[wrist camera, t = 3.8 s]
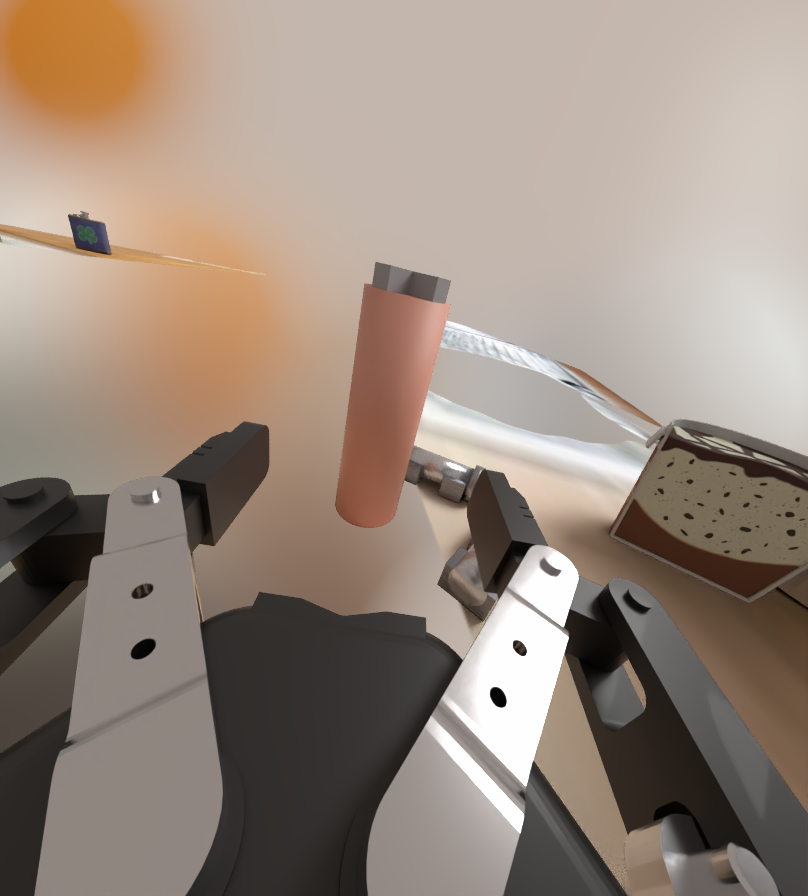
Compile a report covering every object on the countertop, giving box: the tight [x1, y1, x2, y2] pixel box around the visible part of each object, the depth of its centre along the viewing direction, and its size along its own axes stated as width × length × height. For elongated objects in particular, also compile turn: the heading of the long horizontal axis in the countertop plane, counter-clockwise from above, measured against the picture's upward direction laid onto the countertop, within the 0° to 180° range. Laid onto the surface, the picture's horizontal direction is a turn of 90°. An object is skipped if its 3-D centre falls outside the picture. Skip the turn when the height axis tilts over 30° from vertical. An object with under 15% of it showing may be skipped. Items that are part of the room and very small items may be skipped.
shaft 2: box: [438, 538, 498, 621], centre depth 19 cm, size 7×3×3 cm, turn 142°
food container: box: [609, 419, 808, 603], centre depth 23 cm, size 12×6×10 cm, turn 59°
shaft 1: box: [404, 445, 486, 503], centre depth 26 cm, size 7×3×3 cm, turn 67°
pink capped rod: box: [335, 262, 451, 528], centre depth 18 cm, size 4×4×15 cm
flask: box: [68, 211, 111, 255], centre depth 97 cm, size 9×3×11 cm, turn 101°
